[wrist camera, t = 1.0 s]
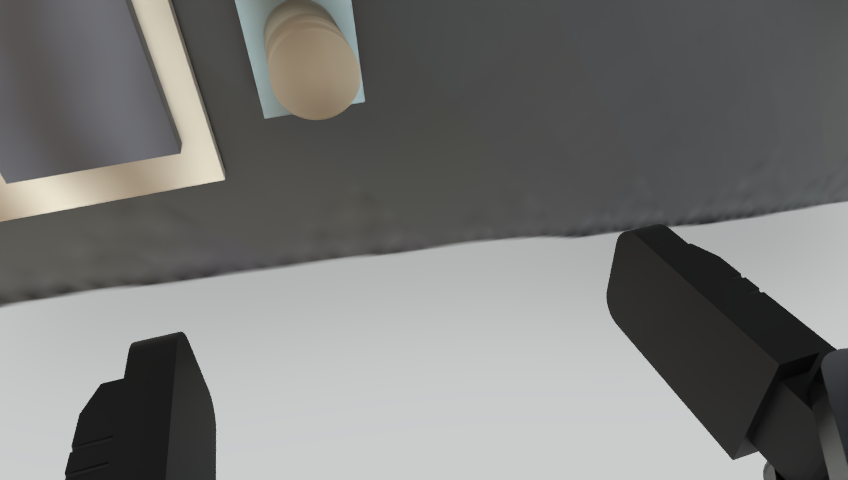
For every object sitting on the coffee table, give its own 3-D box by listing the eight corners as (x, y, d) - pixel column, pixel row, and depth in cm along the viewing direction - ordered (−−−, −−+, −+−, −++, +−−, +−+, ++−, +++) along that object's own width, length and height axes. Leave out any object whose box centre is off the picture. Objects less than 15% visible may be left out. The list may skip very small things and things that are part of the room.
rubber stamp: (333, -63, 26) (369, -32, 19) (353, 79, 30) (389, 148, 23) (225, -51, 25) (222, -14, 18) (262, 94, 30) (270, 171, 22)
